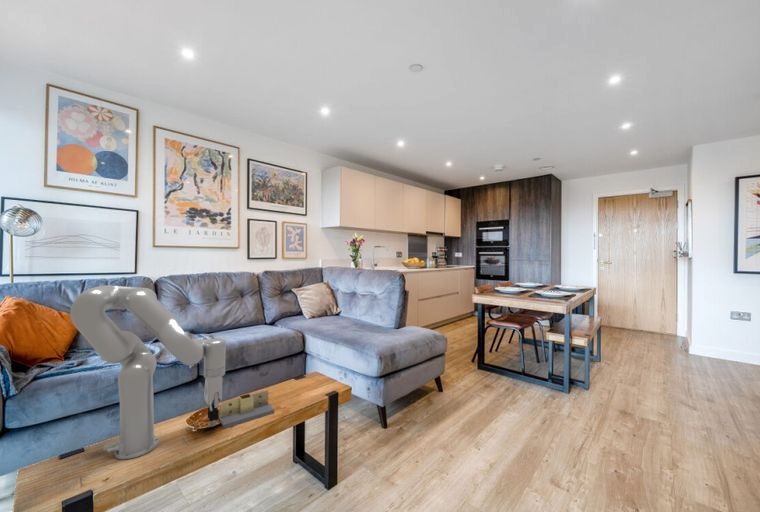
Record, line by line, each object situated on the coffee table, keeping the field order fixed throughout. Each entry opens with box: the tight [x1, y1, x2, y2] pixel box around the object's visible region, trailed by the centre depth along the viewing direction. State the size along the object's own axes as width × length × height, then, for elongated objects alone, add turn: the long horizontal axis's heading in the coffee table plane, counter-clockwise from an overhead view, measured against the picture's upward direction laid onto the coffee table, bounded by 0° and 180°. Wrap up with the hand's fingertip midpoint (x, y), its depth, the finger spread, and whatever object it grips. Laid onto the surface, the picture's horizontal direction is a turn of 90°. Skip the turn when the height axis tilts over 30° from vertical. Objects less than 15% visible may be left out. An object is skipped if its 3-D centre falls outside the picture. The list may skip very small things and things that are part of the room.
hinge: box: [220, 390, 269, 418], centre depth 137 cm, size 19×5×6 cm, turn 127°
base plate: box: [219, 402, 275, 429], centre depth 137 cm, size 20×14×2 cm
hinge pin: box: [208, 401, 217, 427], centre depth 124 cm, size 2×2×9 cm
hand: (213, 418), depth 124 cm, fingers closed on hinge pin, 2 cm apart
